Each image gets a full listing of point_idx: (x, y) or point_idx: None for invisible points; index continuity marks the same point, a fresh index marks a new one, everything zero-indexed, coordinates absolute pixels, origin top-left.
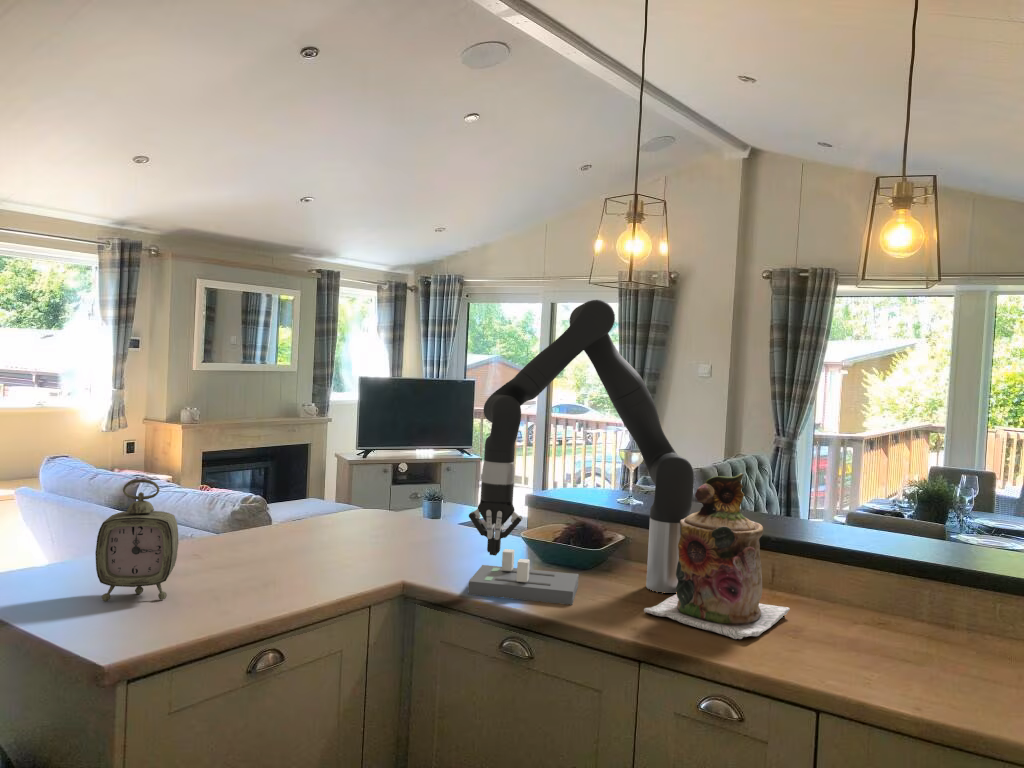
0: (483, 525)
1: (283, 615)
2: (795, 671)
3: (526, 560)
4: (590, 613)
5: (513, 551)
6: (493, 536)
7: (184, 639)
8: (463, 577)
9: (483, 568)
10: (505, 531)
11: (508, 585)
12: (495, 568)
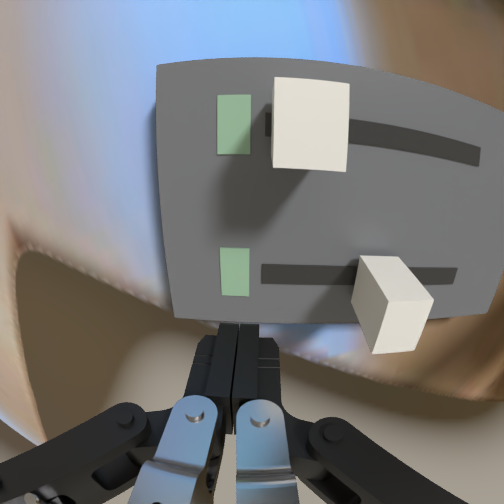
0: (106, 463)
1: (34, 402)
2: None
3: (416, 321)
4: (482, 329)
5: (348, 126)
6: (223, 435)
7: (39, 434)
8: (114, 112)
9: (173, 121)
10: (321, 491)
11: (320, 322)
12: (229, 104)
